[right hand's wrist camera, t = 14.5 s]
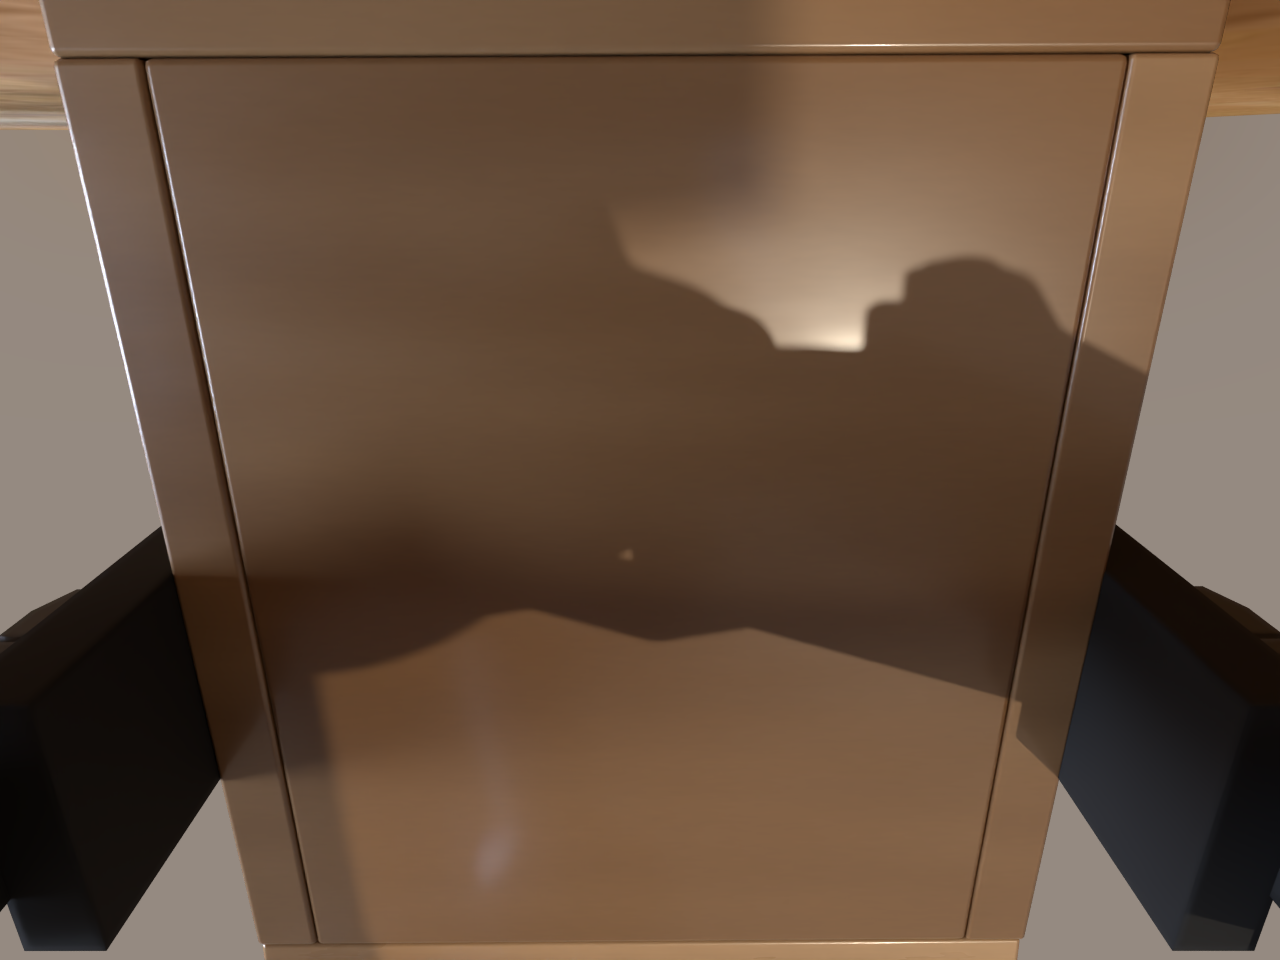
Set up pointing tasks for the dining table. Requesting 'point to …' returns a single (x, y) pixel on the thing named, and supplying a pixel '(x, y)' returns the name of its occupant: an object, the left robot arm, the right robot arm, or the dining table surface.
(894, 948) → the lid
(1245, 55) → the dining table surface
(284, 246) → the chest
